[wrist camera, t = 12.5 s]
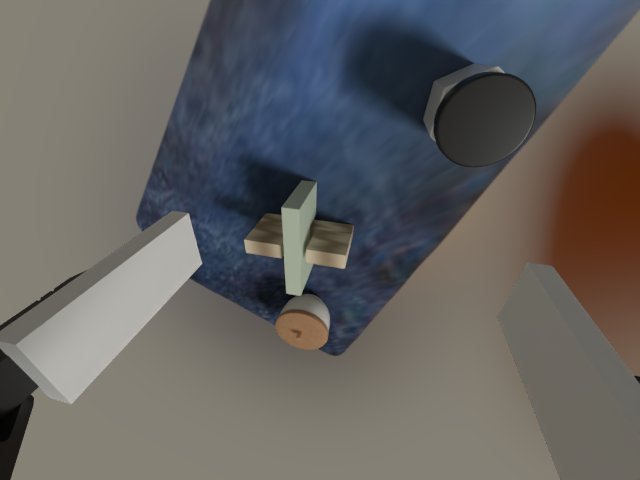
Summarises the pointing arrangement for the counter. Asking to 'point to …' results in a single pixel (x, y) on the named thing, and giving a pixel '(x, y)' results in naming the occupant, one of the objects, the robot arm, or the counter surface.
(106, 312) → the robot arm
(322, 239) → the beech u-shaped block
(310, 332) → the lidded jar
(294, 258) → the sage plate
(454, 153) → the jar
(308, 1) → the counter surface
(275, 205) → the counter surface
